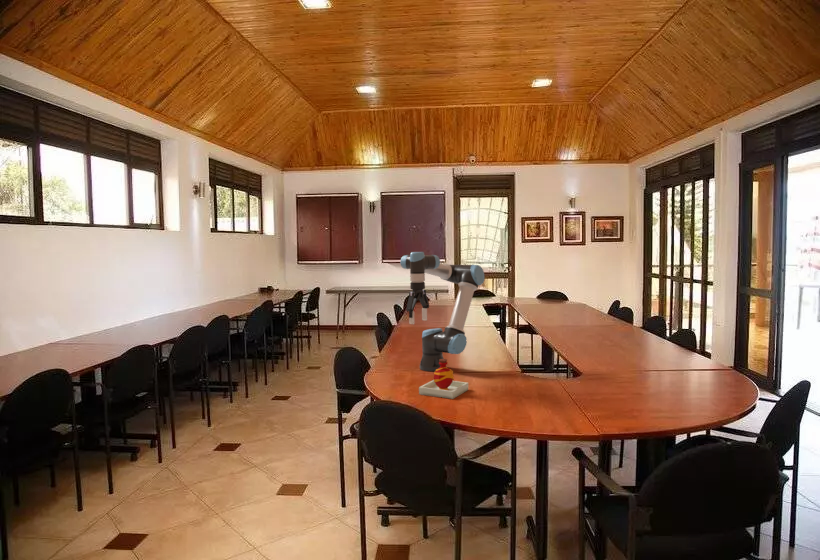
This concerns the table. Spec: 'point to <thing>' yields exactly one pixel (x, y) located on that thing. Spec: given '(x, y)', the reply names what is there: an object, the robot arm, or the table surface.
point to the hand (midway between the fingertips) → (418, 322)
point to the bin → (433, 390)
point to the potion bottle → (443, 375)
